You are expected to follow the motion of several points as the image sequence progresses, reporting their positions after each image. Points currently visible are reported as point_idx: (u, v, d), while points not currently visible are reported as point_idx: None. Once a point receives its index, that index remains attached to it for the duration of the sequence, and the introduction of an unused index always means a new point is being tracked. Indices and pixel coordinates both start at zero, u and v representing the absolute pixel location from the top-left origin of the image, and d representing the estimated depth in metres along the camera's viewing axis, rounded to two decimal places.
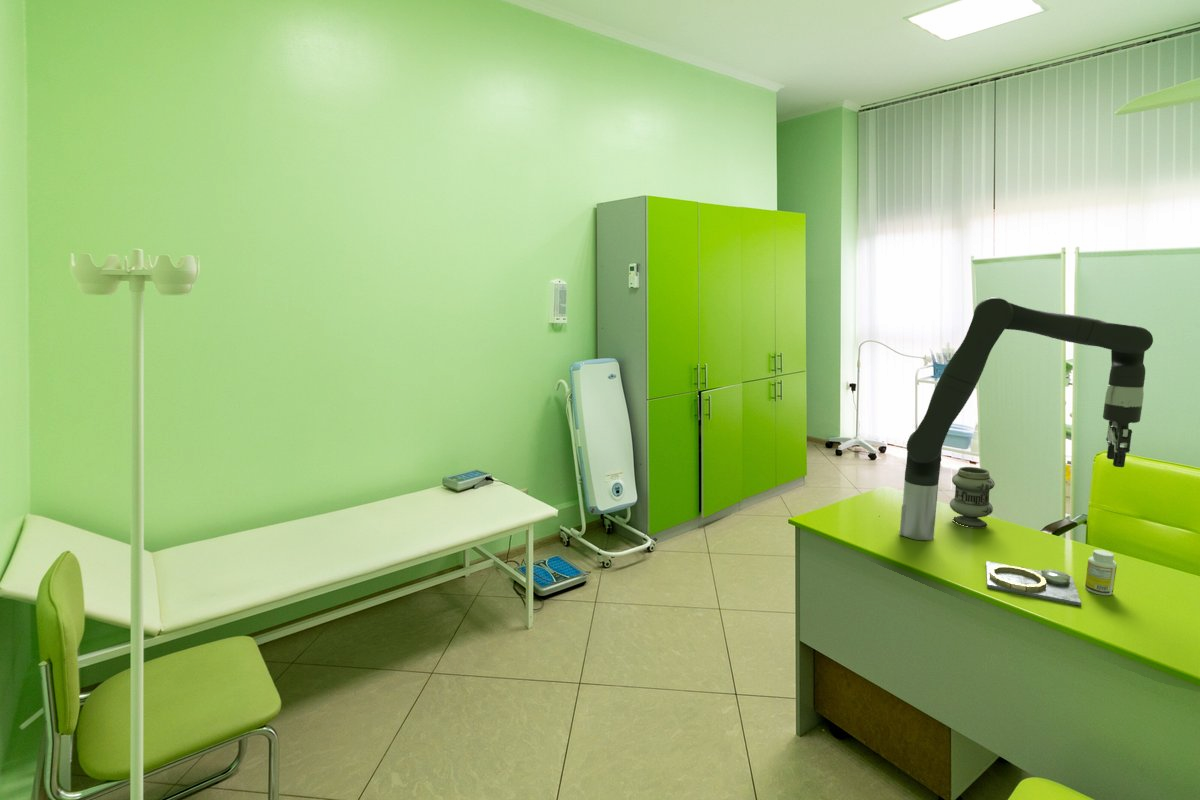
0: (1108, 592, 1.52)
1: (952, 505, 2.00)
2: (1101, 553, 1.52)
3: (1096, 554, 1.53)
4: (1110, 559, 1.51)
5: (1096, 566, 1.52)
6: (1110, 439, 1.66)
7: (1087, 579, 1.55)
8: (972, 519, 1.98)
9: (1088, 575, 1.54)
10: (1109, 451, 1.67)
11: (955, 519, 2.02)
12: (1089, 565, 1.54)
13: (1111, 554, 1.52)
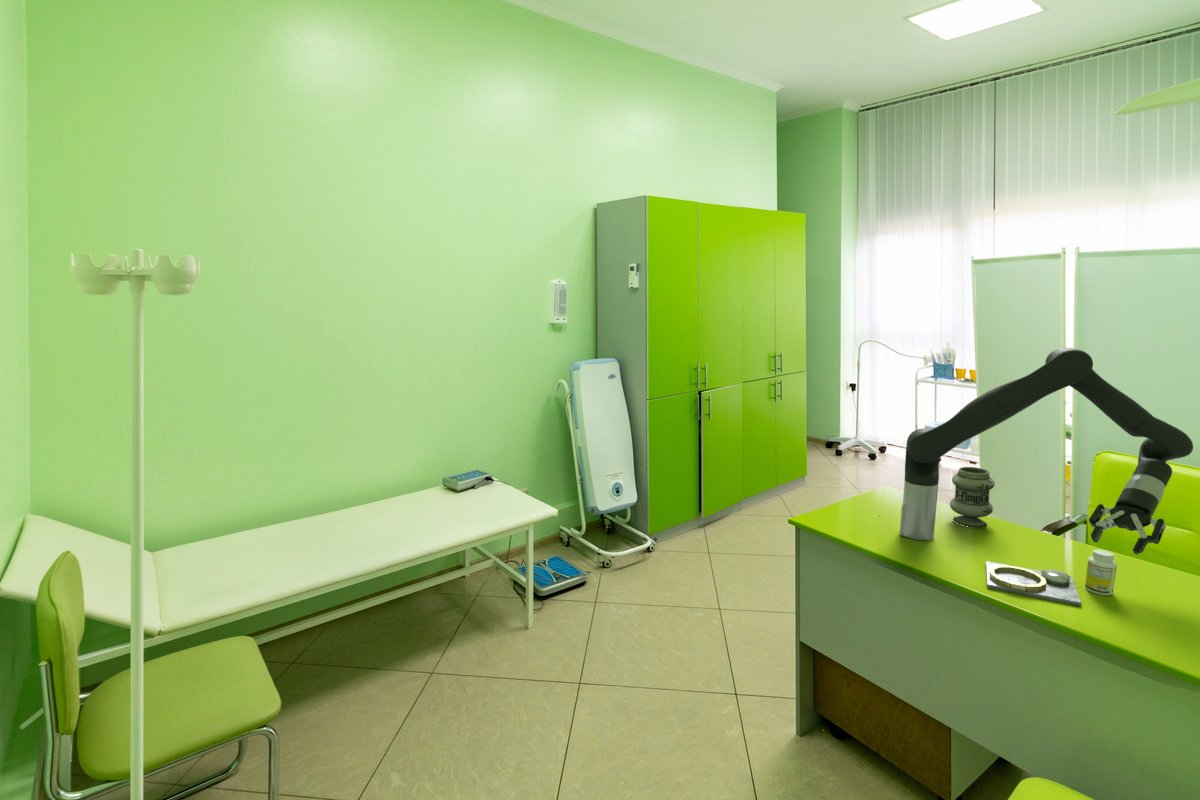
0: (1108, 592, 1.52)
1: (952, 505, 2.00)
2: (1101, 553, 1.52)
3: (1096, 554, 1.53)
4: (1110, 559, 1.51)
5: (1096, 566, 1.52)
6: (1108, 522, 1.59)
7: (1087, 579, 1.55)
8: (972, 519, 1.98)
9: (1088, 575, 1.54)
10: (1098, 533, 1.59)
11: (955, 519, 2.02)
12: (1089, 565, 1.54)
13: (1111, 554, 1.52)
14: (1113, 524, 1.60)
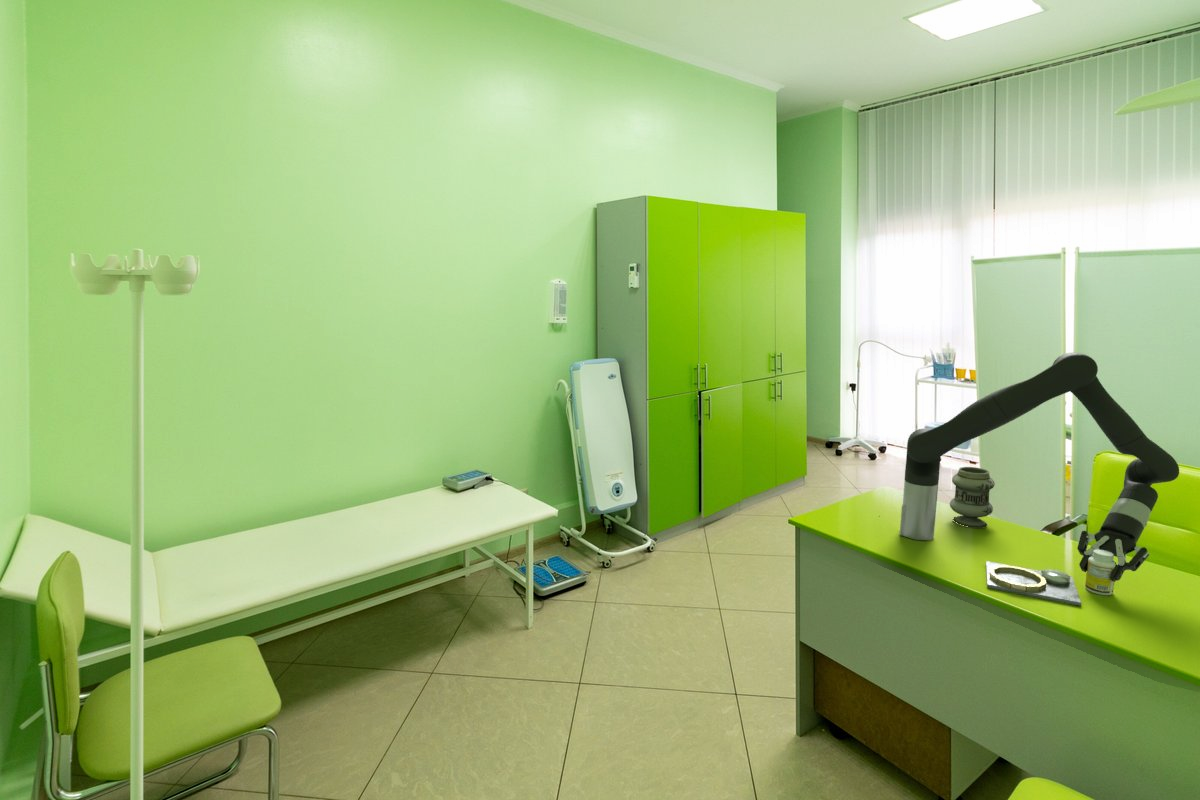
0: (1108, 592, 1.52)
1: (952, 505, 2.00)
2: (1101, 553, 1.52)
3: (1096, 554, 1.53)
4: (1110, 559, 1.51)
5: (1096, 566, 1.52)
6: None
7: (1087, 579, 1.55)
8: (972, 519, 1.98)
9: (1088, 575, 1.54)
10: (1087, 562, 1.55)
11: (955, 519, 2.02)
12: (1089, 565, 1.54)
13: (1111, 554, 1.52)
14: None
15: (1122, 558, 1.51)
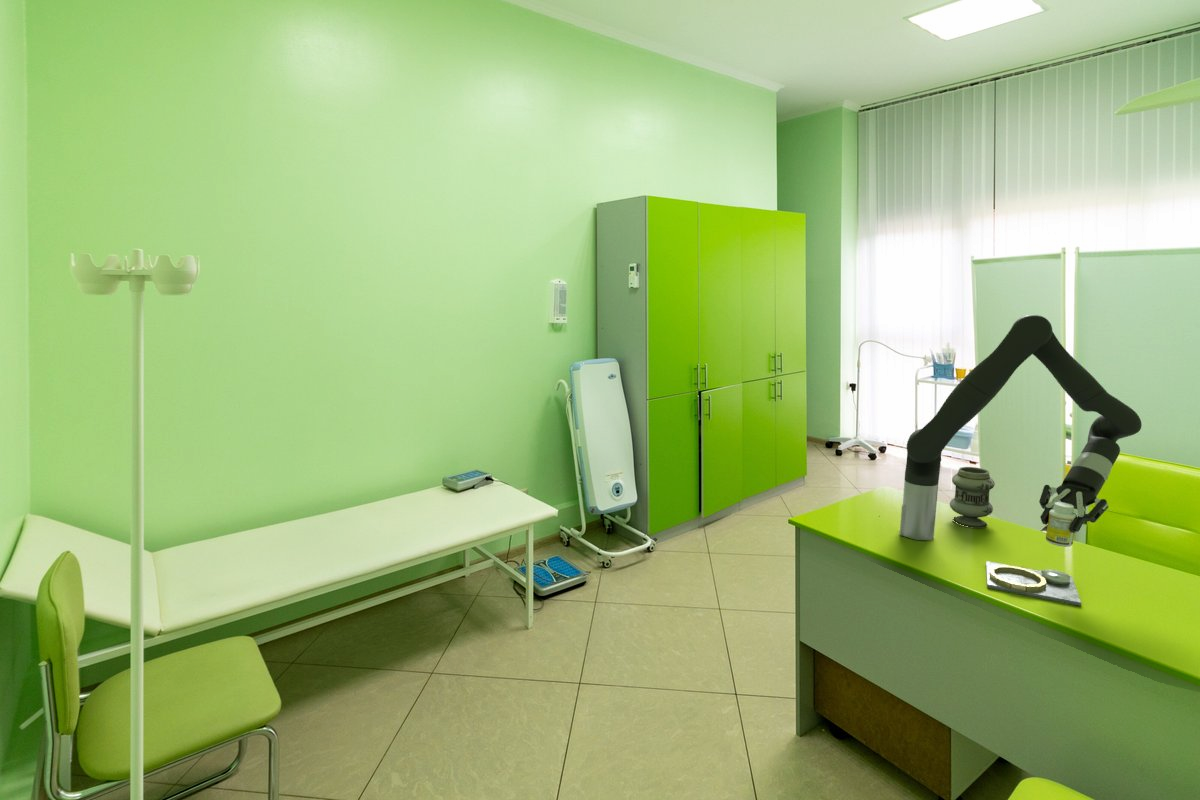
0: (1067, 543, 1.52)
1: (952, 505, 2.00)
2: (1062, 505, 1.53)
3: (1057, 506, 1.53)
4: (1070, 511, 1.52)
5: (1057, 517, 1.52)
6: None
7: (1048, 531, 1.55)
8: (972, 519, 1.98)
9: (1049, 527, 1.55)
10: (1047, 515, 1.56)
11: (955, 519, 2.02)
12: (1050, 517, 1.54)
13: (1071, 506, 1.52)
14: None
15: (1082, 510, 1.51)
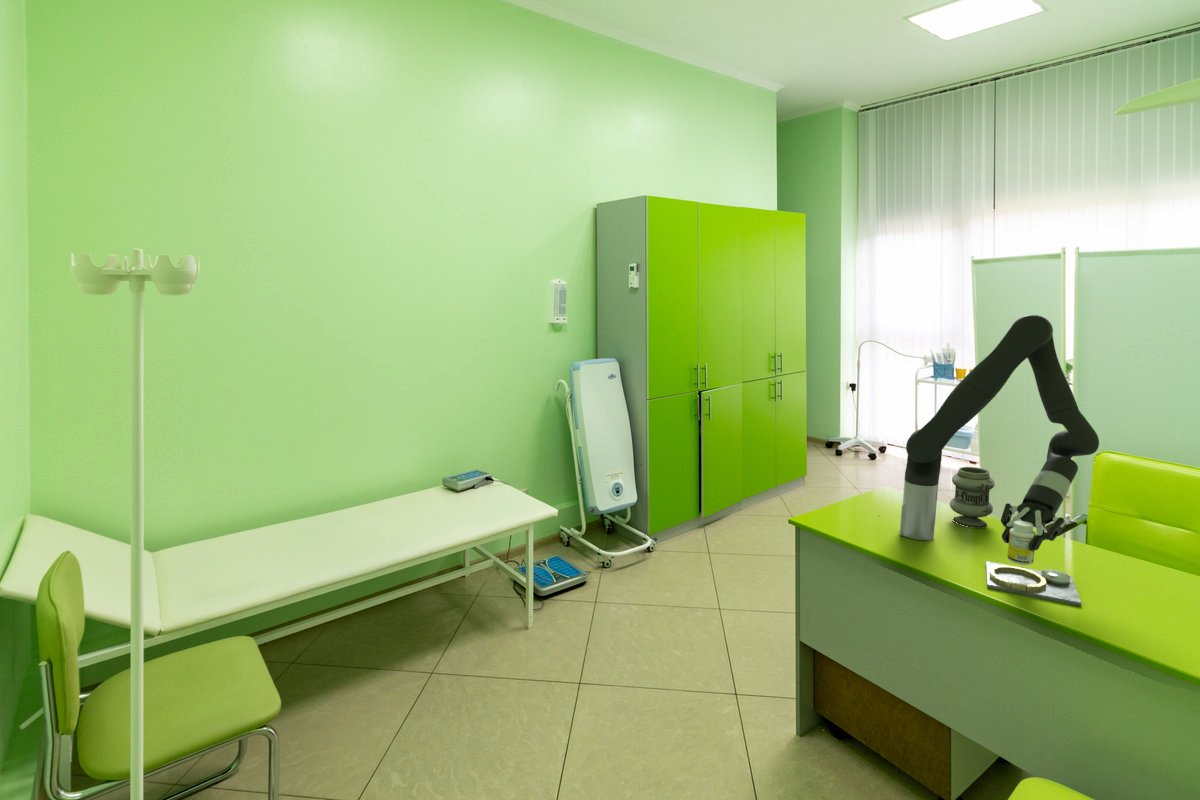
0: (1028, 562, 1.55)
1: (952, 505, 2.00)
2: (1021, 524, 1.55)
3: (1016, 525, 1.56)
4: (1029, 529, 1.54)
5: (1016, 536, 1.55)
6: None
7: (1009, 550, 1.58)
8: (972, 519, 1.98)
9: (1009, 546, 1.57)
10: (1008, 533, 1.58)
11: (955, 519, 2.02)
12: (1010, 536, 1.57)
13: (1030, 524, 1.55)
14: None
15: (1040, 528, 1.54)
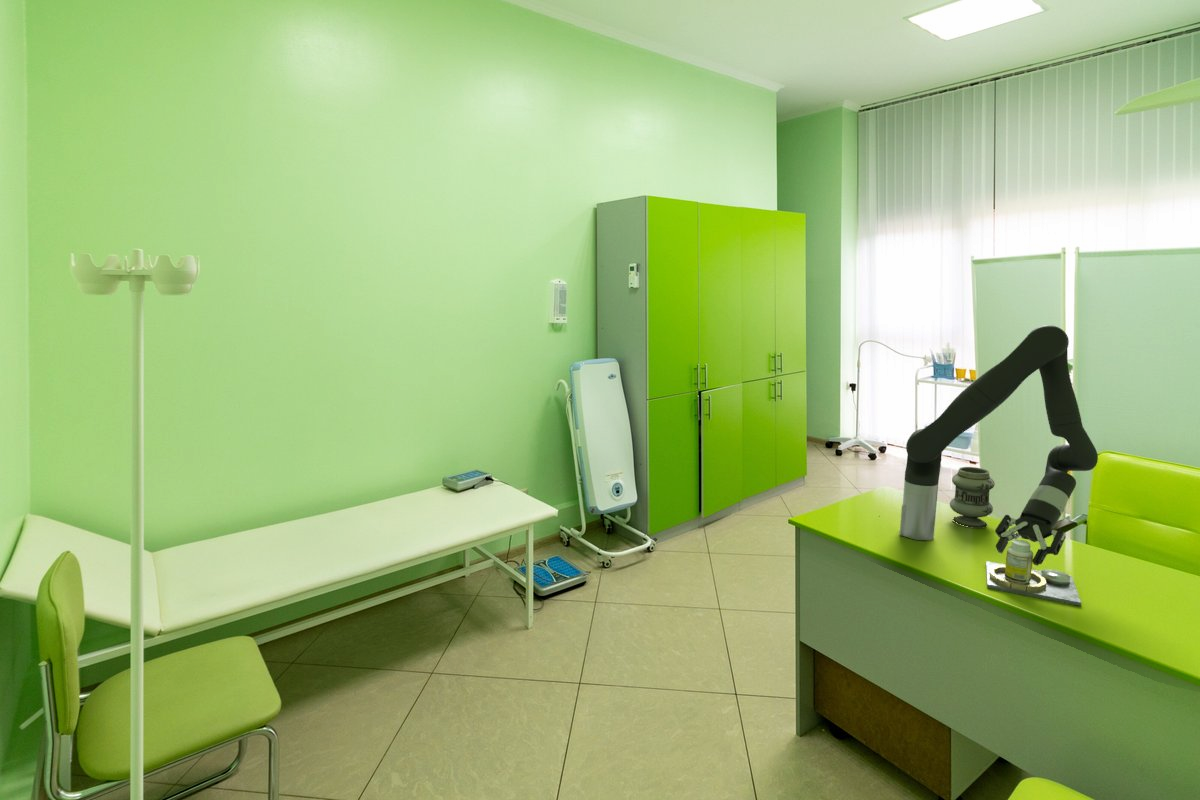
0: (1025, 581, 1.56)
1: (952, 505, 2.00)
2: (1019, 543, 1.56)
3: (1014, 544, 1.57)
4: (1026, 548, 1.55)
5: (1014, 555, 1.56)
6: (1012, 533, 1.60)
7: (1006, 568, 1.59)
8: (972, 519, 1.98)
9: (1007, 564, 1.58)
10: (1002, 544, 1.60)
11: (955, 519, 2.02)
12: (1007, 554, 1.58)
13: (1028, 544, 1.56)
14: (1018, 535, 1.61)
15: (1043, 542, 1.54)
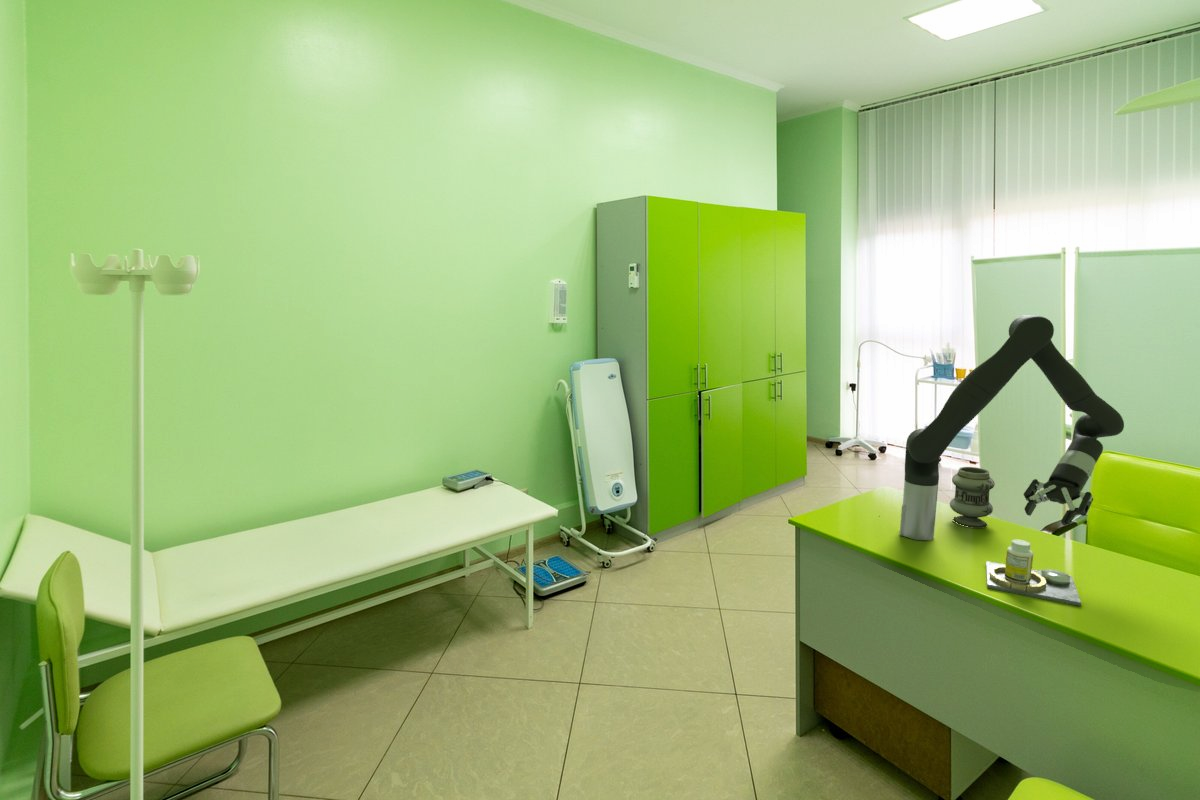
0: (1025, 581, 1.56)
1: (952, 505, 2.00)
2: (1019, 543, 1.56)
3: (1014, 544, 1.57)
4: (1026, 548, 1.55)
5: (1014, 555, 1.56)
6: (1041, 496, 1.66)
7: (1006, 568, 1.59)
8: (972, 519, 1.98)
9: (1007, 564, 1.58)
10: (1031, 506, 1.66)
11: (955, 519, 2.02)
12: (1007, 554, 1.58)
13: (1028, 544, 1.56)
14: (1046, 498, 1.67)
15: (1071, 504, 1.59)
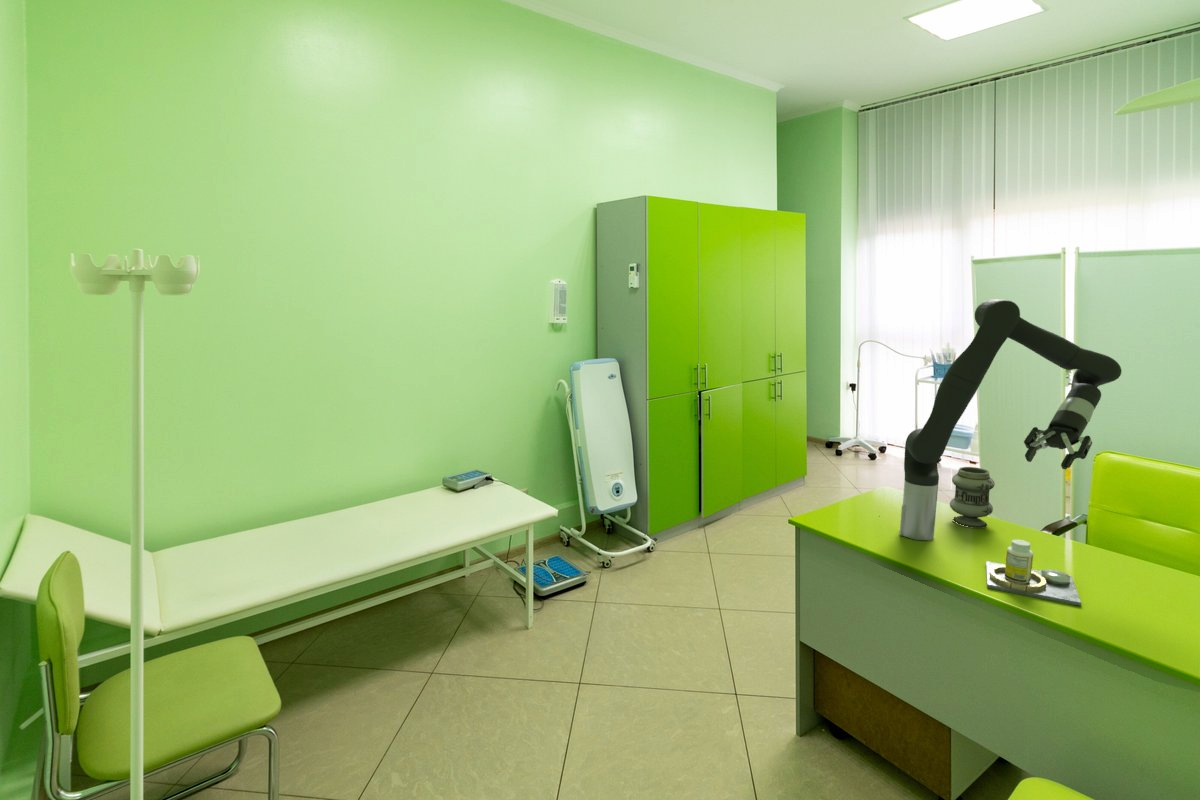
0: (1025, 581, 1.56)
1: (952, 505, 2.00)
2: (1019, 543, 1.56)
3: (1014, 544, 1.57)
4: (1026, 548, 1.55)
5: (1014, 555, 1.56)
6: (1041, 442, 1.69)
7: (1006, 568, 1.59)
8: (972, 519, 1.98)
9: (1007, 564, 1.58)
10: (1031, 453, 1.69)
11: (955, 519, 2.02)
12: (1007, 554, 1.58)
13: (1028, 544, 1.56)
14: (1046, 445, 1.70)
15: (1071, 447, 1.62)
